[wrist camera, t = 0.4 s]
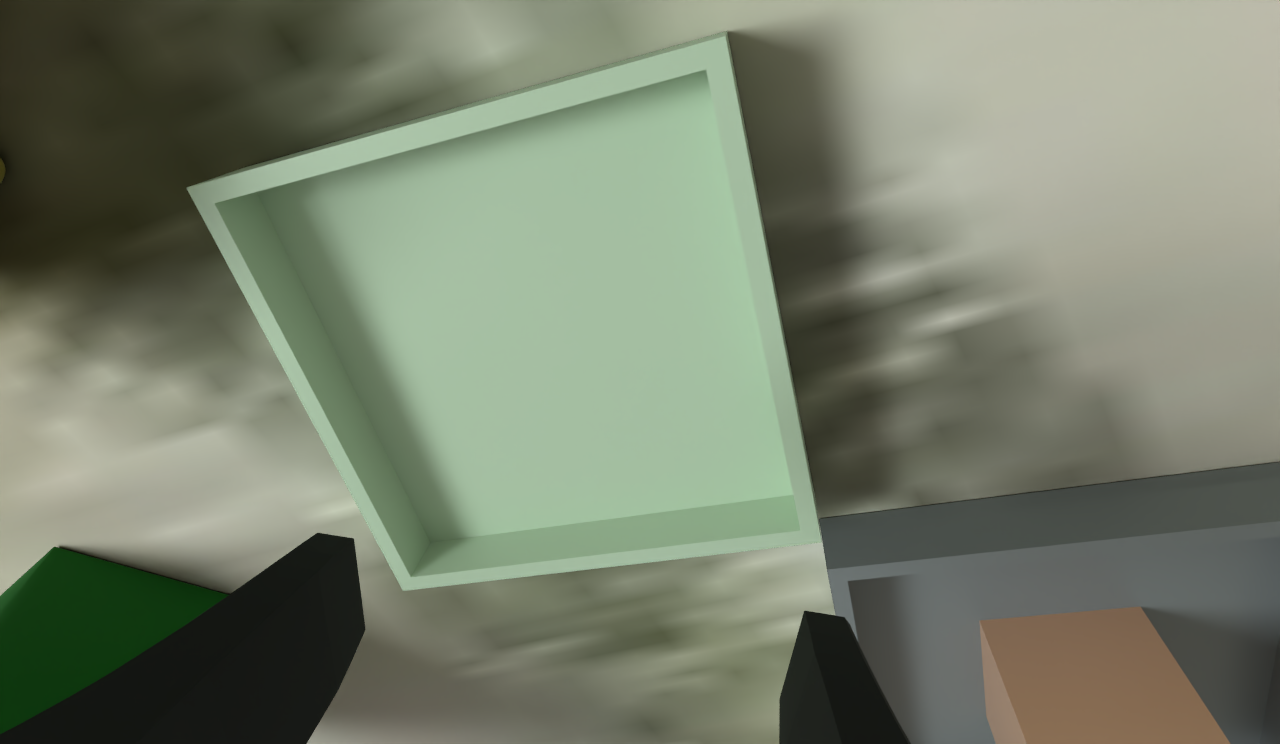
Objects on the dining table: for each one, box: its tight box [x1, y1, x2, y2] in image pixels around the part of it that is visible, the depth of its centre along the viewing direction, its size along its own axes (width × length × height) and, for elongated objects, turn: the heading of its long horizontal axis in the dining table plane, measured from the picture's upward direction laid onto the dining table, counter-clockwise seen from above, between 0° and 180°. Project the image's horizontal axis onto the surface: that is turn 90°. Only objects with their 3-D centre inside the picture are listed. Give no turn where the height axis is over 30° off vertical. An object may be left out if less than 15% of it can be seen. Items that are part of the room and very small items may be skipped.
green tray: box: [187, 31, 822, 591], centre depth 19 cm, size 13×13×2 cm
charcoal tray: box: [819, 462, 1280, 744], centre depth 22 cm, size 13×13×2 cm
